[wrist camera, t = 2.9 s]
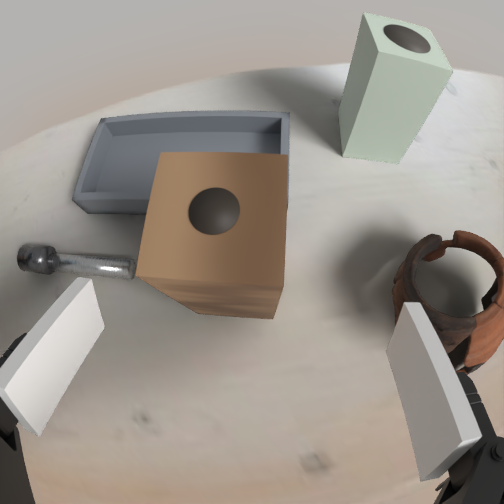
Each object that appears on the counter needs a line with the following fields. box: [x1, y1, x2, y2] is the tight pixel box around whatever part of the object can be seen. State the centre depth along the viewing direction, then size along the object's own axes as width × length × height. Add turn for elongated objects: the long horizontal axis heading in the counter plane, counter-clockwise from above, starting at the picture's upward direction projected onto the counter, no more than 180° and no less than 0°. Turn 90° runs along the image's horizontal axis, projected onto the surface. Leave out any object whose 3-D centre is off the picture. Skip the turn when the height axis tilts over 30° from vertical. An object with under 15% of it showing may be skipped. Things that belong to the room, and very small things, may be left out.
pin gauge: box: [17, 245, 136, 279], centre depth 21 cm, size 10×2×2 cm, turn 86°
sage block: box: [338, 12, 453, 164], centre depth 19 cm, size 5×5×11 cm
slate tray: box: [72, 111, 290, 215], centre depth 23 cm, size 16×8×3 cm, turn 86°
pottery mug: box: [392, 230, 504, 375], centre depth 18 cm, size 12×9×8 cm
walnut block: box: [135, 152, 288, 319], centre depth 16 cm, size 5×5×11 cm
